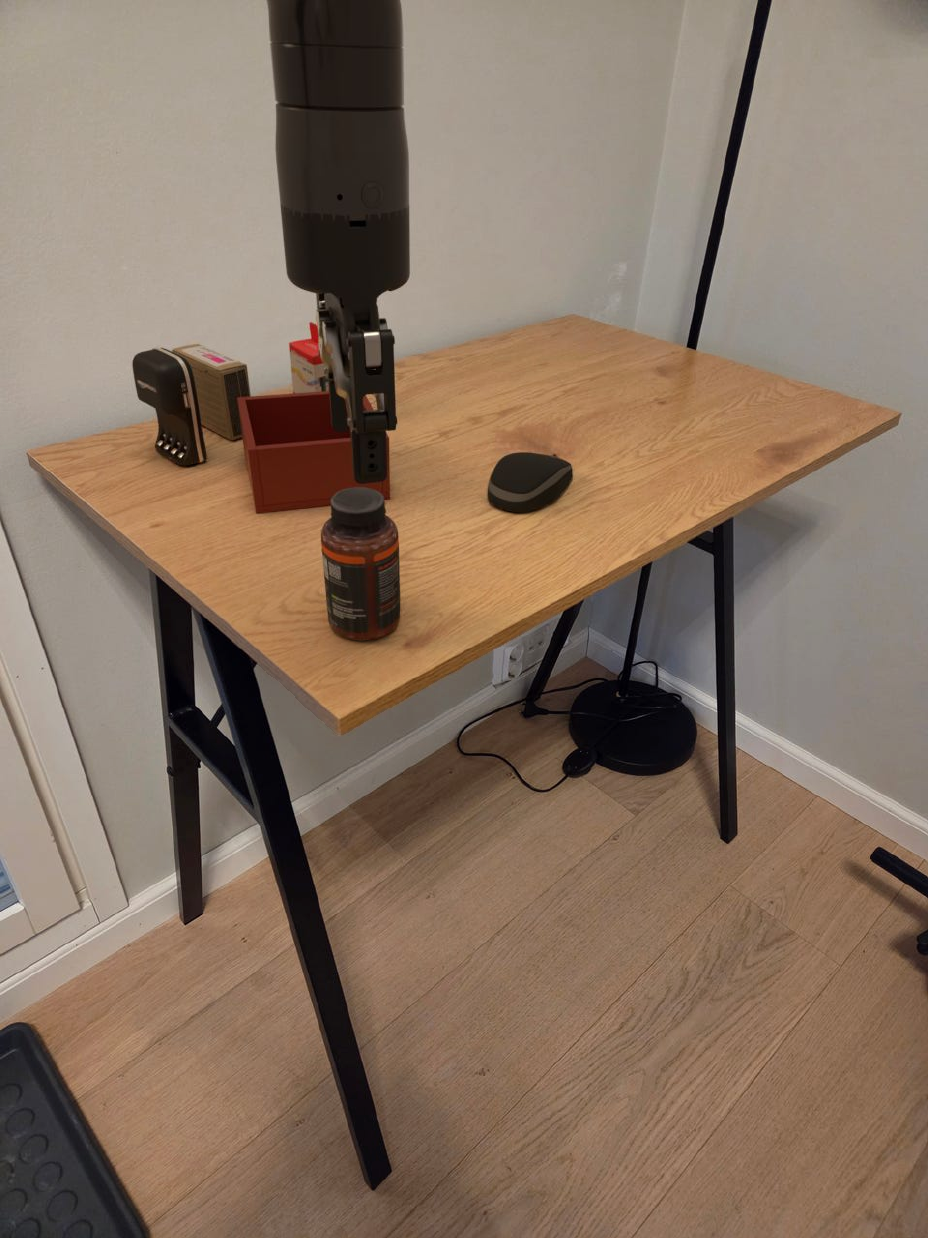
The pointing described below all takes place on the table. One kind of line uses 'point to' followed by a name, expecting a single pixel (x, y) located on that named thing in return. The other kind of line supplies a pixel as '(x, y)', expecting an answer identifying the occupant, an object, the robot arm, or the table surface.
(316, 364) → the ink box
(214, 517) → the table surface
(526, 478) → the computer mouse
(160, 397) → the battery charger
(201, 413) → the ink box
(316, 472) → the tote
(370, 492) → the supplement bottle
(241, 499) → the table surface
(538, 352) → the table surface
